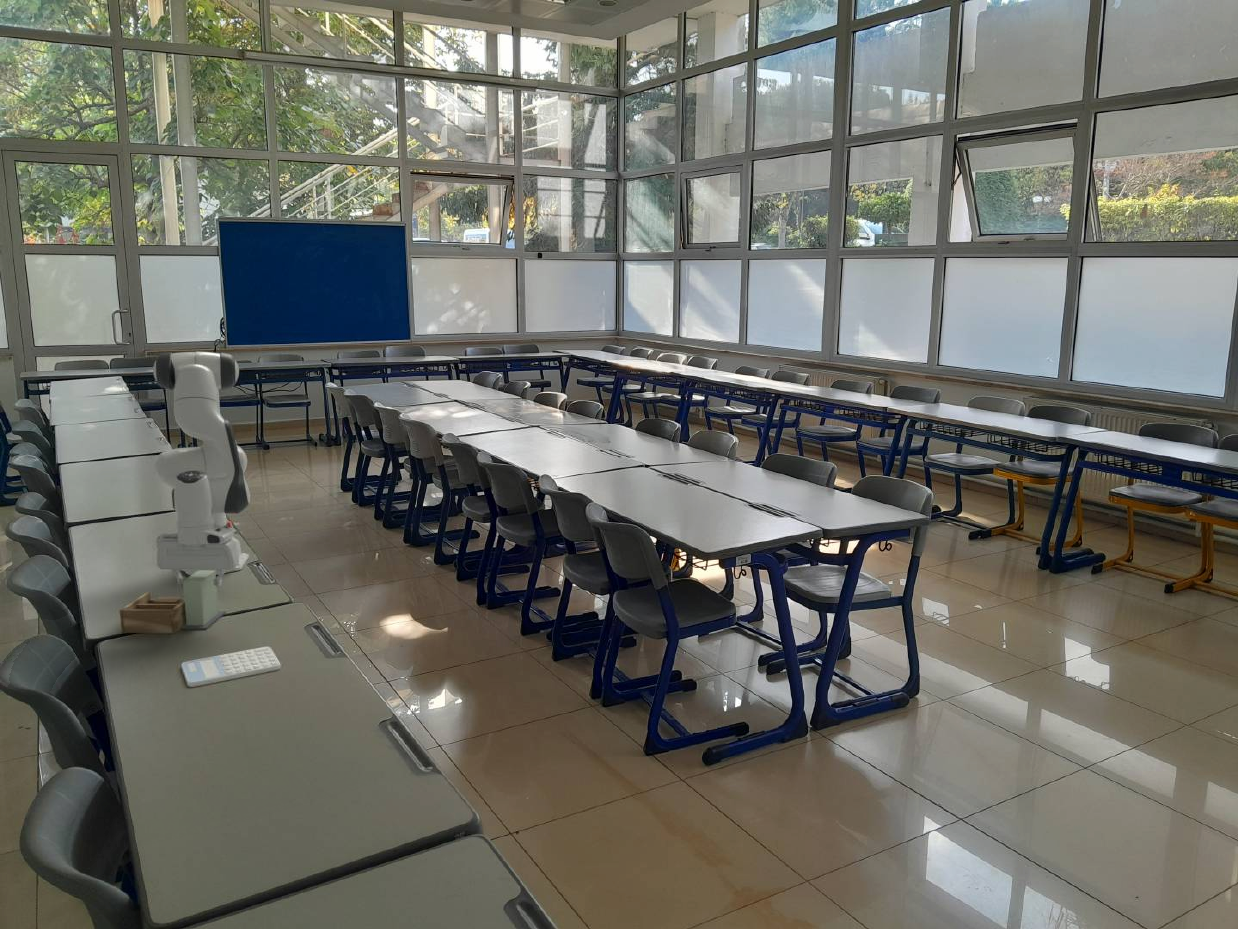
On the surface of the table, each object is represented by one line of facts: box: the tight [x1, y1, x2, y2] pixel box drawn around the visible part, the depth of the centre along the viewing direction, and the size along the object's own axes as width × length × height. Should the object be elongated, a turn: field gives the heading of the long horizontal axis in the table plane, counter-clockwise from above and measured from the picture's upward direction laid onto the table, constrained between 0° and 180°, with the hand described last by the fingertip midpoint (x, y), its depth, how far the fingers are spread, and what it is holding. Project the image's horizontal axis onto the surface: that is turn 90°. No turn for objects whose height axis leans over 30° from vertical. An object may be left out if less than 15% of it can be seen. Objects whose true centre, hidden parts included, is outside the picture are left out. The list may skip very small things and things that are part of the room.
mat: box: [180, 610, 226, 631], centre depth 242 cm, size 12×7×1 cm, turn 1°
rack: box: [119, 591, 186, 634], centre depth 240 cm, size 14×14×6 cm
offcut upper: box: [153, 596, 183, 604], centre depth 243 cm, size 4×6×2 cm, turn 90°
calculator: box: [180, 646, 282, 688], centre depth 213 cm, size 13×20×2 cm, turn 122°
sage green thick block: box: [182, 570, 219, 625], centre depth 241 cm, size 4×9×12 cm, turn 1°
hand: (200, 584), depth 240 cm, fingers open, 8 cm apart
